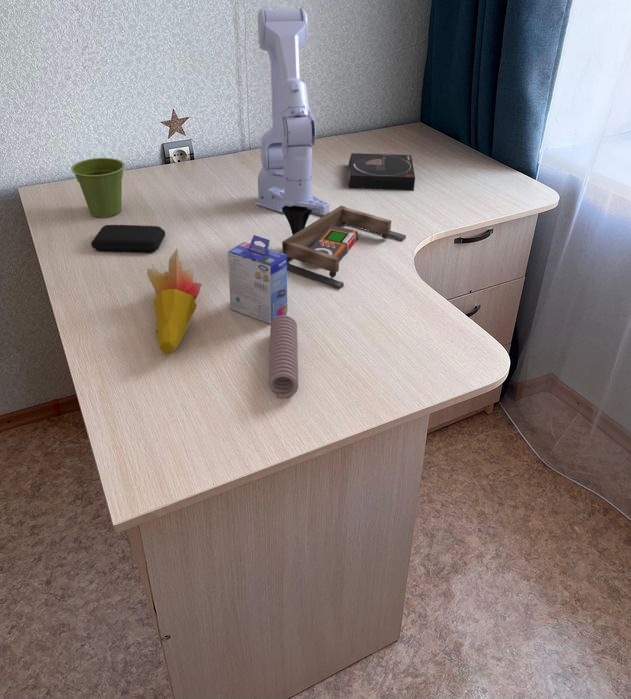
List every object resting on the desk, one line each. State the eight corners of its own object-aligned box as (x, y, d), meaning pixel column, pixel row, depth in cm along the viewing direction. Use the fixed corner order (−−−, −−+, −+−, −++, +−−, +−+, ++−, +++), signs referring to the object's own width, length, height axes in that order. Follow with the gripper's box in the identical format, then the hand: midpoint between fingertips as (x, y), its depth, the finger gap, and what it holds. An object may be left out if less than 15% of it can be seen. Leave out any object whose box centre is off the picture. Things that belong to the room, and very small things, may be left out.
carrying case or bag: (169, 234, 151) (105, 232, 151) (167, 221, 149) (102, 219, 149) (157, 256, 142) (90, 254, 143) (156, 243, 140) (87, 241, 141)
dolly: (282, 261, 140) (282, 241, 137) (340, 223, 155) (341, 205, 152) (334, 279, 134) (335, 259, 131) (390, 238, 149) (391, 220, 146)
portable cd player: (348, 167, 186) (349, 153, 184) (409, 169, 186) (411, 155, 183) (347, 190, 173) (348, 175, 171) (413, 192, 172) (415, 177, 170)
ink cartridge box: (289, 311, 124) (288, 242, 116) (272, 325, 121) (270, 254, 112) (247, 296, 129) (243, 228, 120) (229, 309, 125) (224, 239, 116)
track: (237, 253, 143) (237, 249, 143) (311, 209, 161) (311, 206, 161) (339, 289, 131) (339, 286, 131) (405, 238, 150) (406, 235, 149)
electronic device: (303, 254, 138) (331, 222, 149) (303, 266, 140) (331, 234, 151) (333, 261, 136) (359, 228, 147) (332, 273, 138) (358, 240, 149)
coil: (268, 313, 116) (266, 377, 102) (295, 311, 116) (296, 375, 102) (272, 335, 119) (270, 401, 104) (298, 333, 119) (300, 398, 104)
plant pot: (138, 215, 158) (131, 169, 151) (88, 226, 153) (79, 179, 146) (122, 198, 166) (115, 153, 159) (74, 208, 161) (64, 162, 154)
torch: (166, 379, 114) (172, 288, 132) (206, 360, 112) (206, 271, 130) (136, 349, 108) (146, 258, 126) (177, 329, 107) (181, 240, 125)
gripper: (257, 174, 137) (260, 234, 145) (315, 190, 130) (315, 252, 138) (278, 164, 141) (279, 223, 149) (335, 179, 135) (333, 240, 143)
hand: (298, 236), depth 144 cm, fingers closed
